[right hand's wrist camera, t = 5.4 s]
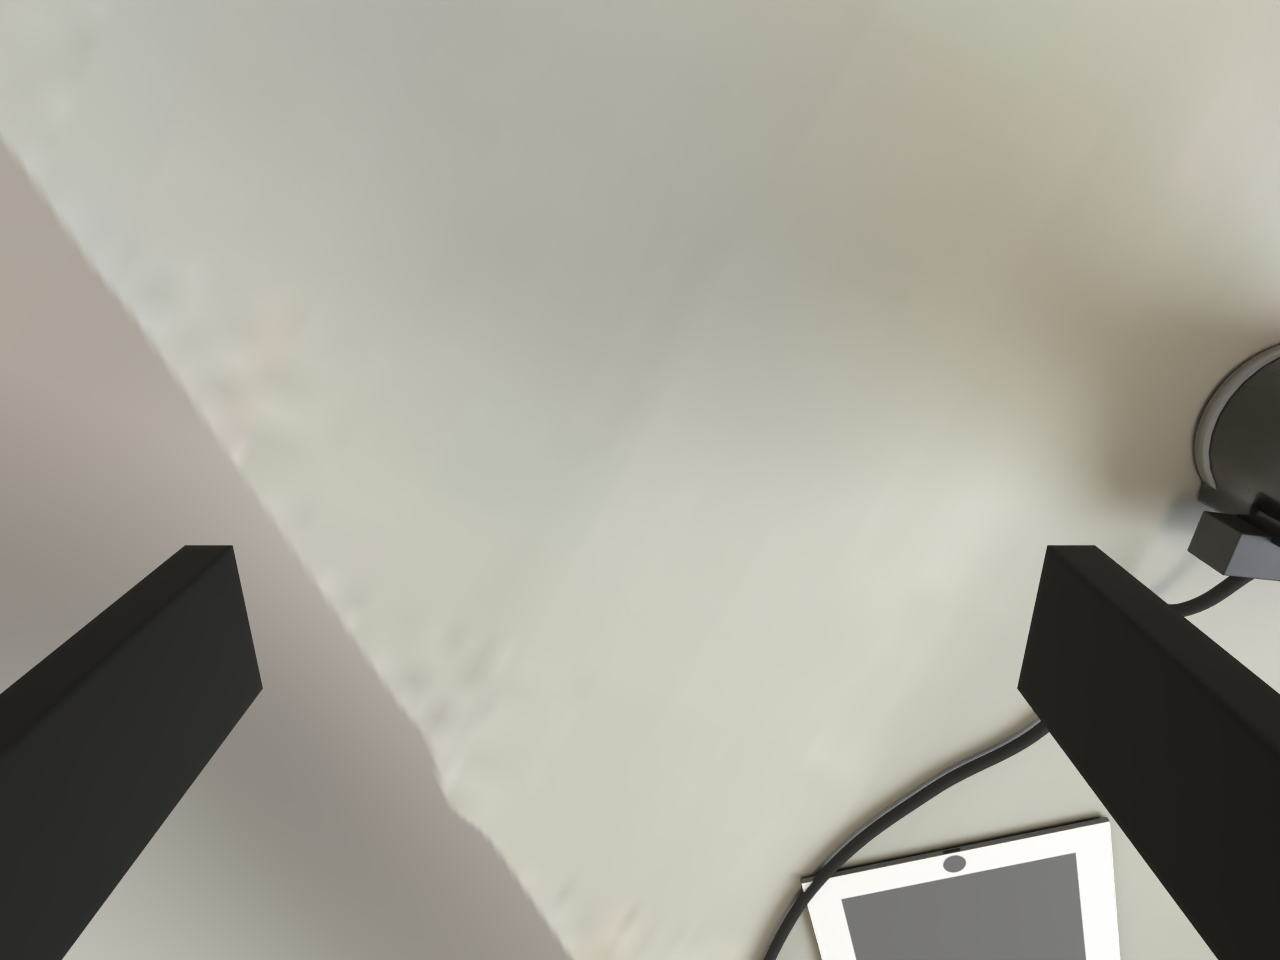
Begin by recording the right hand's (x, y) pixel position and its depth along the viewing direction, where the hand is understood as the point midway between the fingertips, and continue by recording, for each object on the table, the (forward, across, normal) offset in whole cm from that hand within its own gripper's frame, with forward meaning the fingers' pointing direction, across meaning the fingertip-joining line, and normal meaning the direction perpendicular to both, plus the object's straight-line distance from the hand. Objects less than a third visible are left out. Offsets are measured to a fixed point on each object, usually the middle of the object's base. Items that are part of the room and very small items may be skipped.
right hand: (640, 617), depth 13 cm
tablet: (+28, +25, -50) cm, 62 cm away
